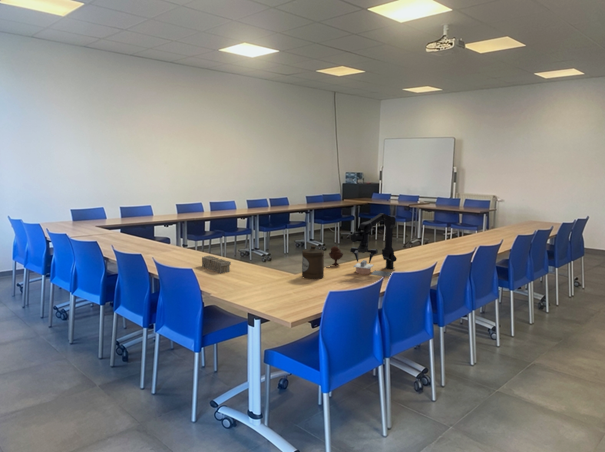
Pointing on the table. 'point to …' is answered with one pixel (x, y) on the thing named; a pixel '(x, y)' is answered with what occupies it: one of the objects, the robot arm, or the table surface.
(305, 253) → the wooden container
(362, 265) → the lid
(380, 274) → the mat
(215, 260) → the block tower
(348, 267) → the table surface
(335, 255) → the brown egg chair
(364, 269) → the bowl
